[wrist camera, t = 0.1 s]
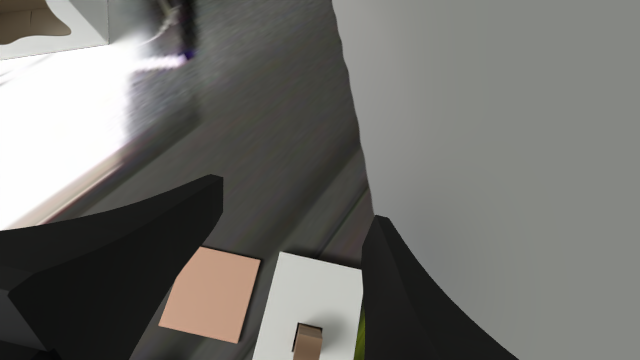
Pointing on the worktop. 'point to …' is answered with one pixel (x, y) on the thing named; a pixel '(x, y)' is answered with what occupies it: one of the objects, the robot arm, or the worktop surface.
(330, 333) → the board
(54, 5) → the gable box
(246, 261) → the terracotta tile
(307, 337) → the walnut peg
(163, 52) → the worktop surface
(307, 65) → the worktop surface
